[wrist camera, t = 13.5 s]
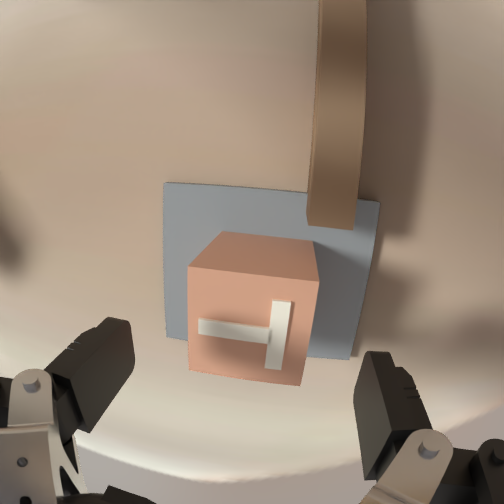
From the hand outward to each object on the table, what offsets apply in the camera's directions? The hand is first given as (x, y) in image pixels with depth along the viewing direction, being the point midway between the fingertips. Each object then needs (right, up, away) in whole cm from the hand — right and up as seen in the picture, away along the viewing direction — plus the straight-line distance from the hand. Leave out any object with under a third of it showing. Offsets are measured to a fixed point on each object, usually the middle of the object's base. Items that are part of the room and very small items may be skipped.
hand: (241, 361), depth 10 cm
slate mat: (+1, +2, +9) cm, 9 cm away
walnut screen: (+5, +13, +5) cm, 15 cm away
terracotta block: (+1, +2, +8) cm, 9 cm away
